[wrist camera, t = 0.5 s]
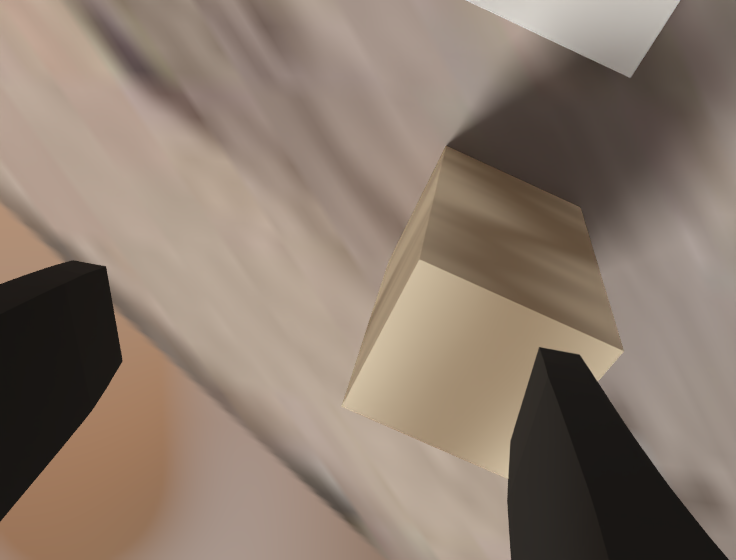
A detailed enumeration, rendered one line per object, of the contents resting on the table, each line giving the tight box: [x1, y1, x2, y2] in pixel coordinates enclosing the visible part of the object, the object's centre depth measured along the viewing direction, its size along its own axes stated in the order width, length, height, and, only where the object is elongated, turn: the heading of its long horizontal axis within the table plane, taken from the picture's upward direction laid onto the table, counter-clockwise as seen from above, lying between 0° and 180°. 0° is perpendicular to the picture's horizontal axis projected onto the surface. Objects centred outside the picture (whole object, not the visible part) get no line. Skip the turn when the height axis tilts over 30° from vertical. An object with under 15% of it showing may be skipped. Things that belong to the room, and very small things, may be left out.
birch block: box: [342, 146, 624, 479], centre depth 15 cm, size 4×4×7 cm
